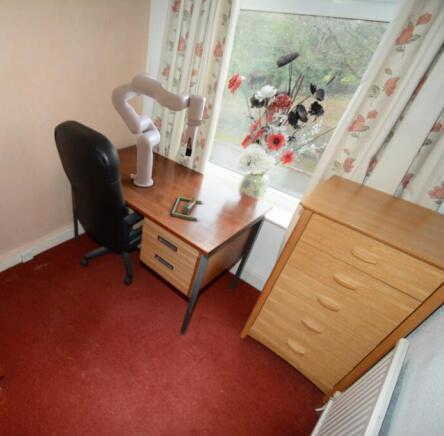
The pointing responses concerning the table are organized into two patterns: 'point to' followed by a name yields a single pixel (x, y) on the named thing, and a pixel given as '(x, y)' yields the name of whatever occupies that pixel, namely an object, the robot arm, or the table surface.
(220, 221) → the table surface
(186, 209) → the grey elongated block
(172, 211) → the frame
